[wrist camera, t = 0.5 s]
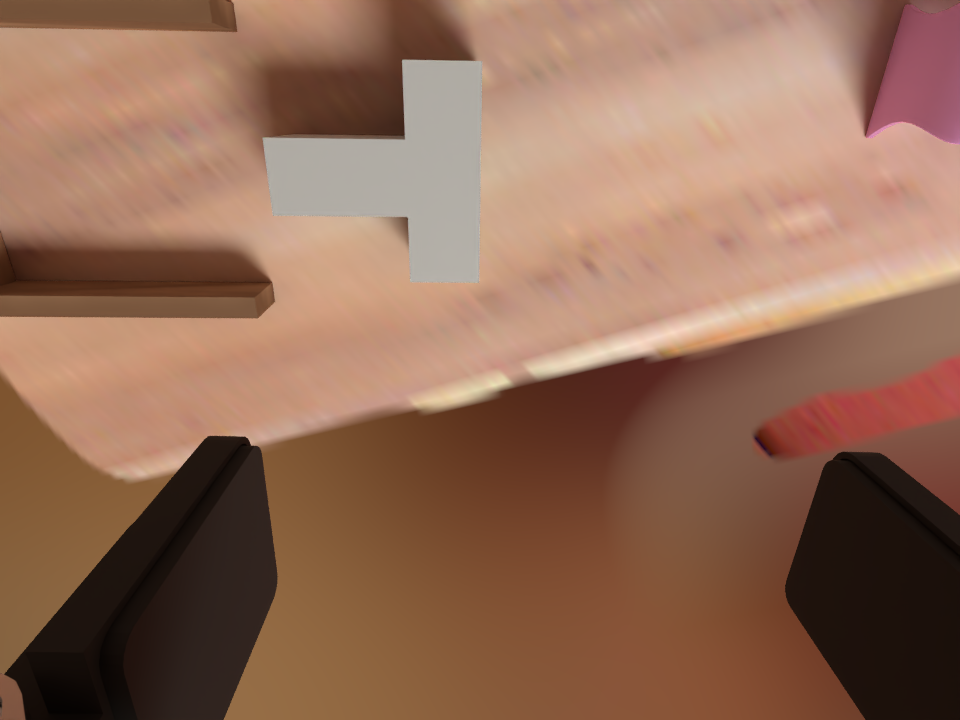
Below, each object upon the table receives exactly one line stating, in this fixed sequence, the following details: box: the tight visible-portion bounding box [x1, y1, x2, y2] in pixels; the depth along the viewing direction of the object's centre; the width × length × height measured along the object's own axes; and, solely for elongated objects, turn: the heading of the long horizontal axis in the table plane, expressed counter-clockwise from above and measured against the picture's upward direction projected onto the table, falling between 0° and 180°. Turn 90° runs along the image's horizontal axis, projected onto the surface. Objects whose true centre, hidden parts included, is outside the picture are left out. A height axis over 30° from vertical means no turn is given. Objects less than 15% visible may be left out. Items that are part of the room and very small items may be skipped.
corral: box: [0, 0, 275, 318], centre depth 29 cm, size 15×16×3 cm
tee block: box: [263, 60, 482, 283], centre depth 29 cm, size 10×10×5 cm
